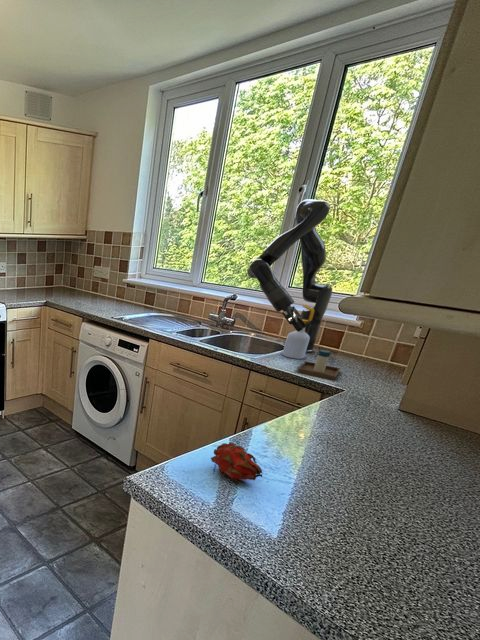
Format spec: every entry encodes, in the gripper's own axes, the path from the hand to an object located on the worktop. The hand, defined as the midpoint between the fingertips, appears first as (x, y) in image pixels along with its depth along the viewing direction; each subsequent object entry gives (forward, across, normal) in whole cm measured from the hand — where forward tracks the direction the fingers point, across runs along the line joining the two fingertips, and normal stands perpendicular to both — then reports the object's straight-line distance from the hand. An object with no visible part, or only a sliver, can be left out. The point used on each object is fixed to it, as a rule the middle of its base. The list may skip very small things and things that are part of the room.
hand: (302, 329), depth 176 cm
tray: (+19, -1, +5) cm, 20 cm away
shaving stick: (+19, -1, +4) cm, 19 cm away
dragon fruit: (+17, -113, +7) cm, 114 cm away
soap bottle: (+10, +18, +14) cm, 25 cm away
